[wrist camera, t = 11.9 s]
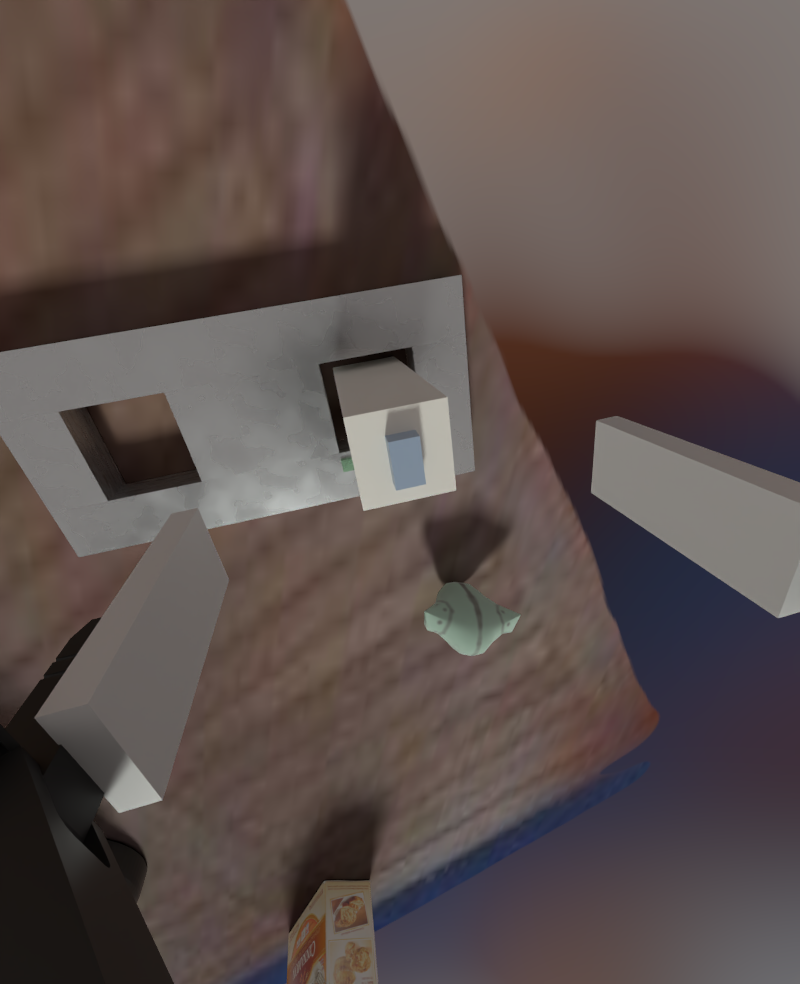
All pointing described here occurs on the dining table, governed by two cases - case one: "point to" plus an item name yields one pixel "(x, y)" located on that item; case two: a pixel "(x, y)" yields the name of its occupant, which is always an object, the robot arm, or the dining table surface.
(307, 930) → the coffeecake box
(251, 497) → the panel
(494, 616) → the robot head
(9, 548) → the dining table surface
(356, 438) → the plug
